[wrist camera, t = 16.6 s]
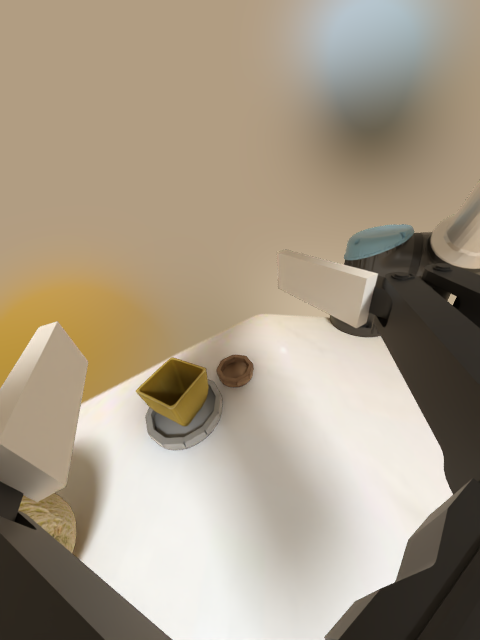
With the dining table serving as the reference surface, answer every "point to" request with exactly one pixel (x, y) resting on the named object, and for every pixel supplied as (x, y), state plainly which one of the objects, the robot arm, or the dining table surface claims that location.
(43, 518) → the cantaloupe
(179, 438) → the grey saucer
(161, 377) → the flower pot
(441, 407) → the robot arm
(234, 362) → the brown octagonal saucer
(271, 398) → the dining table surface
